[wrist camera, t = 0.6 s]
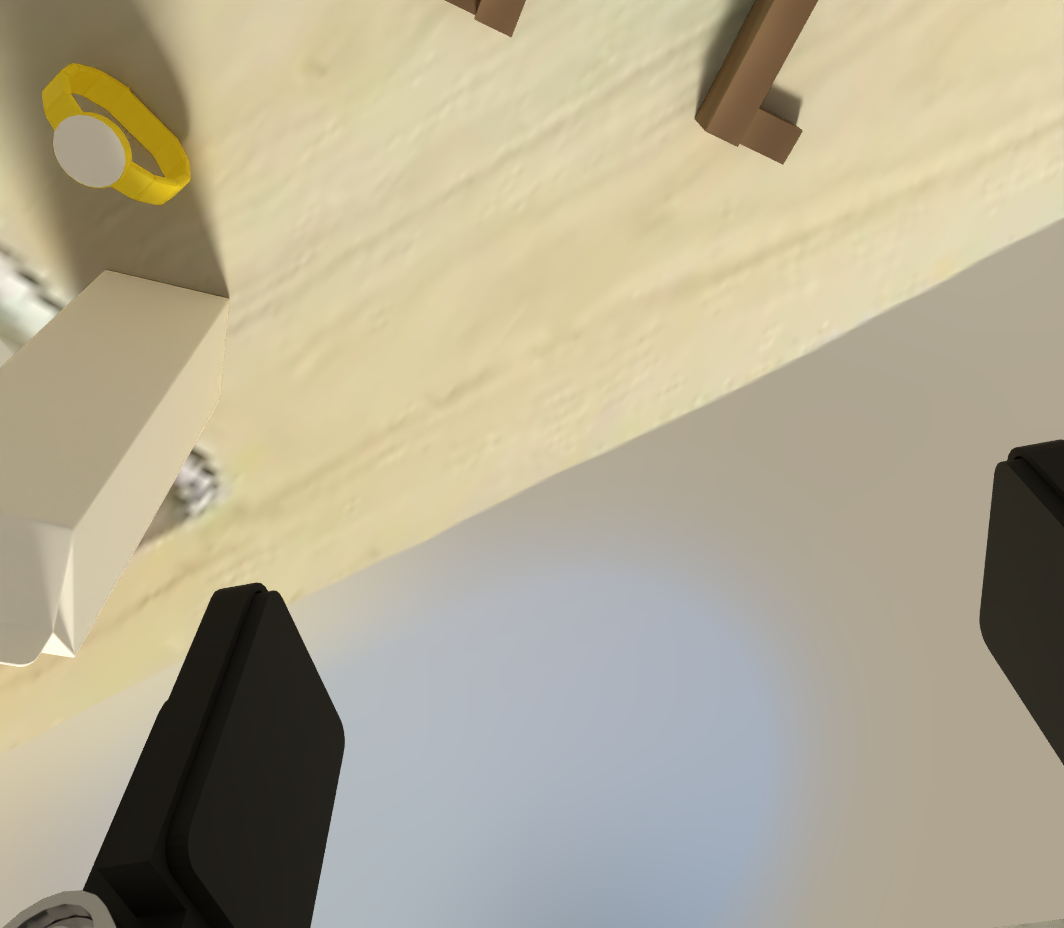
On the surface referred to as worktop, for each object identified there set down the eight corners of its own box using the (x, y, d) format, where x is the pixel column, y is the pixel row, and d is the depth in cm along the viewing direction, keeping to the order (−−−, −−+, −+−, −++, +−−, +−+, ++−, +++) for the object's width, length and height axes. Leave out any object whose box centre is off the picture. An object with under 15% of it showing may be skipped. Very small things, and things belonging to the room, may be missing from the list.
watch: (71, 88, 38) (-3, 107, 33) (112, 44, 37) (41, 57, 32) (178, 198, 40) (123, 232, 35) (218, 159, 40) (168, 188, 34)
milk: (105, 267, 42) (-209, 549, 24) (232, 297, 43) (28, 591, 25) (103, 376, 45) (-175, 701, 27) (222, 402, 46) (34, 732, 28)
